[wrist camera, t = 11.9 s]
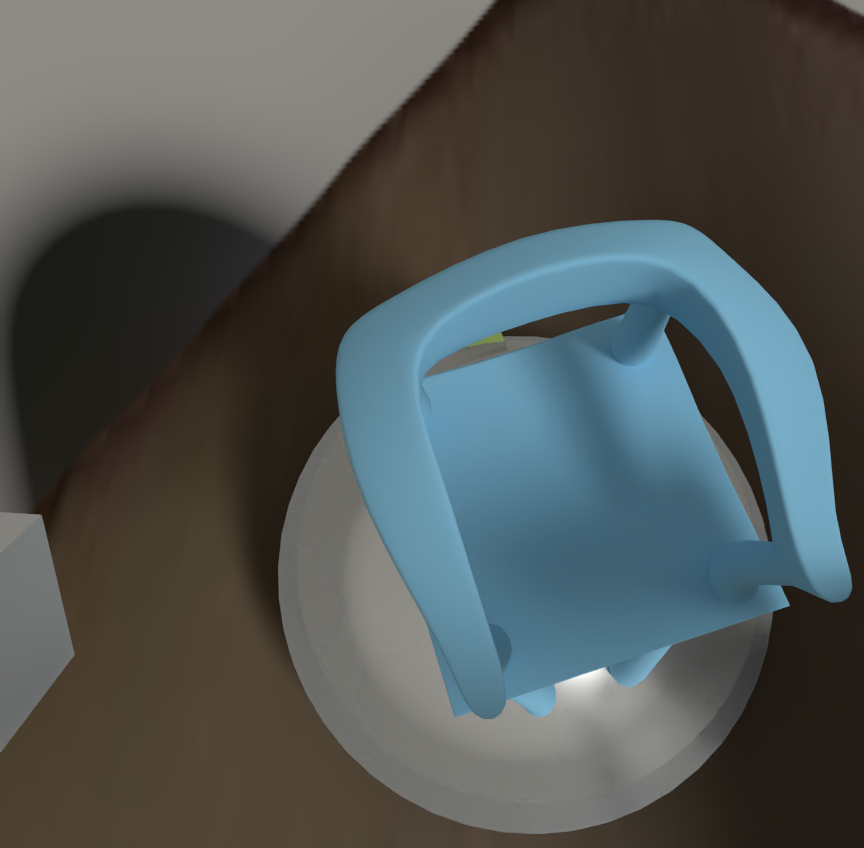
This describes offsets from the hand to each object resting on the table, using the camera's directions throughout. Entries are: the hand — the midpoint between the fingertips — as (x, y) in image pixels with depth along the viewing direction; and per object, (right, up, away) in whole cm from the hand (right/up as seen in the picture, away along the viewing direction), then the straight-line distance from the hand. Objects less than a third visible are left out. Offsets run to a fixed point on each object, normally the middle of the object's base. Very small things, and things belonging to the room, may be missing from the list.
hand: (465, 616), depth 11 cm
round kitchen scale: (+2, -2, +15) cm, 15 cm away
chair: (+2, -1, +10) cm, 10 cm away
